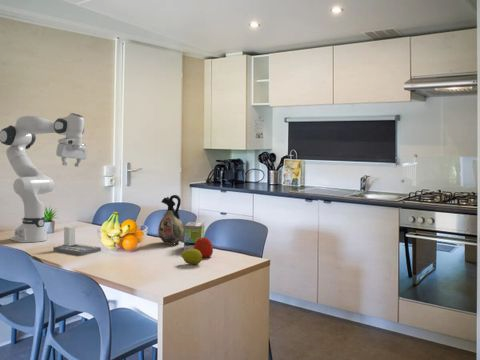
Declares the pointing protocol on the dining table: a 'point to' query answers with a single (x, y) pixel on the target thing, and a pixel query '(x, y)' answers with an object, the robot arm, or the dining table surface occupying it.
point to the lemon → (192, 256)
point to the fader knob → (69, 236)
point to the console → (77, 249)
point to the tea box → (192, 234)
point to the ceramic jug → (171, 222)
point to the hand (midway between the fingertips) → (70, 166)
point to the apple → (204, 247)
